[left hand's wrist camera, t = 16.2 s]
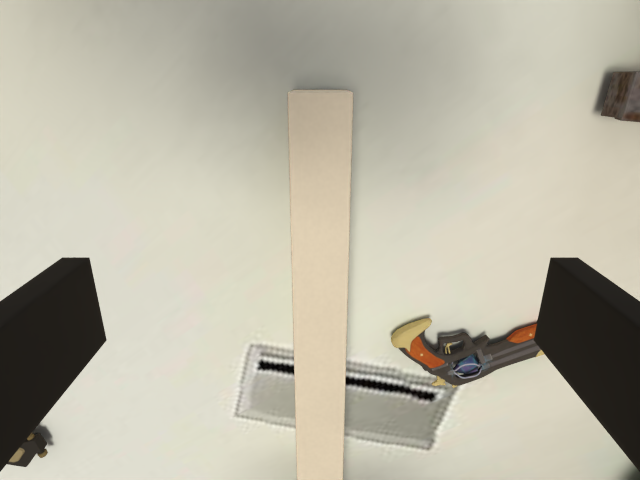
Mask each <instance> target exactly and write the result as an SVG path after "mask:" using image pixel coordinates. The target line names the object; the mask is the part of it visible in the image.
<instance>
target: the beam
mask: <svg viewBox="0 0 640 480" xmlns="http://www.w3.org/2000/svg"><path fill="white" fill-rule="evenodd" d="M352 118H353V93H352V92H350V91H348V90H292V91H290V92H288V131H289V172H290V212H291V253H292V293H293V333H294V374H295V414H296V455H297V480H343V454H344V417H345V380H346V342H347V305H348V268H349V230H350V193H351V156H352Z"/></svg>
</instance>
